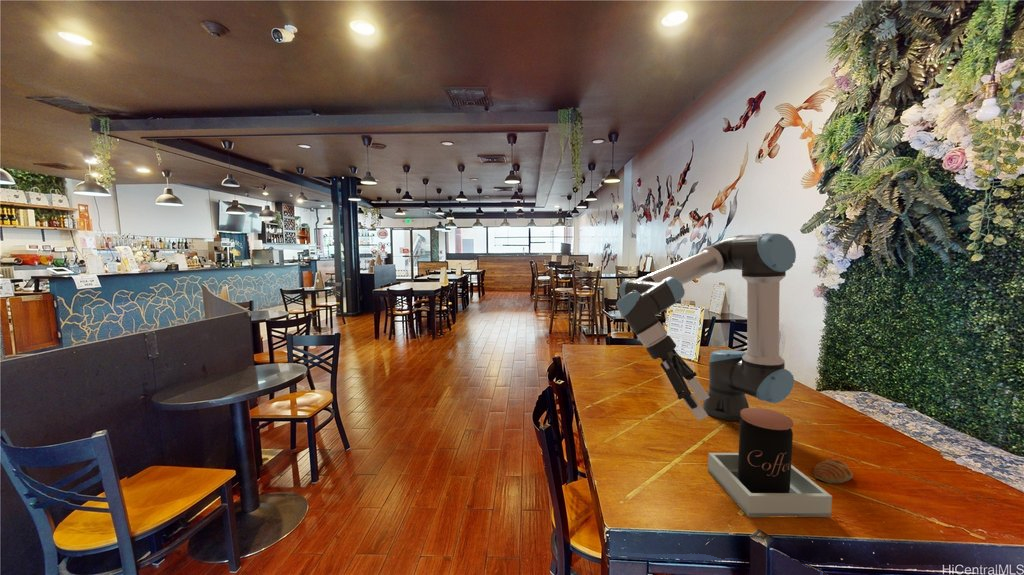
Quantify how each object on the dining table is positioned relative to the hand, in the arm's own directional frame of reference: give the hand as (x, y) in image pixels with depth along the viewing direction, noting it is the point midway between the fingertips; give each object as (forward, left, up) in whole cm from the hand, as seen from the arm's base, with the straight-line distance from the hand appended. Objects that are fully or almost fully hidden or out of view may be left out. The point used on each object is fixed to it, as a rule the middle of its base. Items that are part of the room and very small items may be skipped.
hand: (704, 408), depth 100 cm
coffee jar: (-10, +10, -16) cm, 21 cm away
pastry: (-32, +4, -17) cm, 37 cm away
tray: (-10, +10, -17) cm, 22 cm away
